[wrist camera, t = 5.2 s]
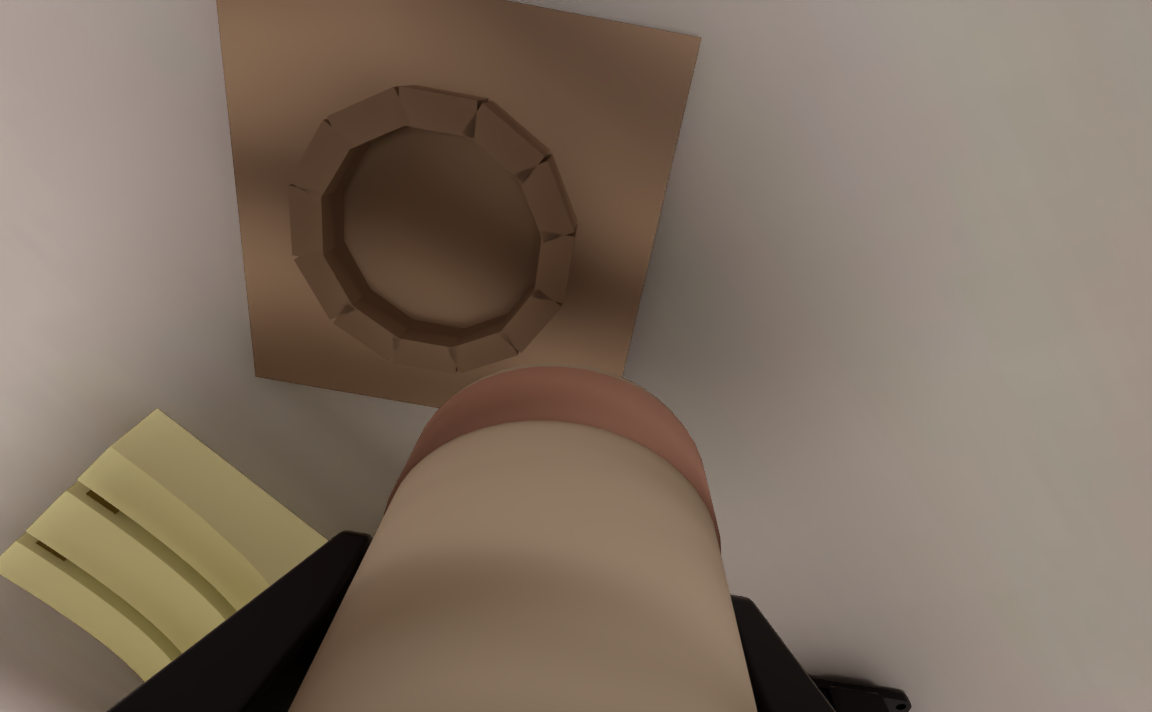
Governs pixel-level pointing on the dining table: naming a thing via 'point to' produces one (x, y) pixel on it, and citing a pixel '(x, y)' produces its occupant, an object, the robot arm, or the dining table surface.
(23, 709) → the dining table surface
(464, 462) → the beige rounded peg
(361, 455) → the dining table surface
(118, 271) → the dining table surface
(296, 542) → the slatted curved stool
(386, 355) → the walnut socket
